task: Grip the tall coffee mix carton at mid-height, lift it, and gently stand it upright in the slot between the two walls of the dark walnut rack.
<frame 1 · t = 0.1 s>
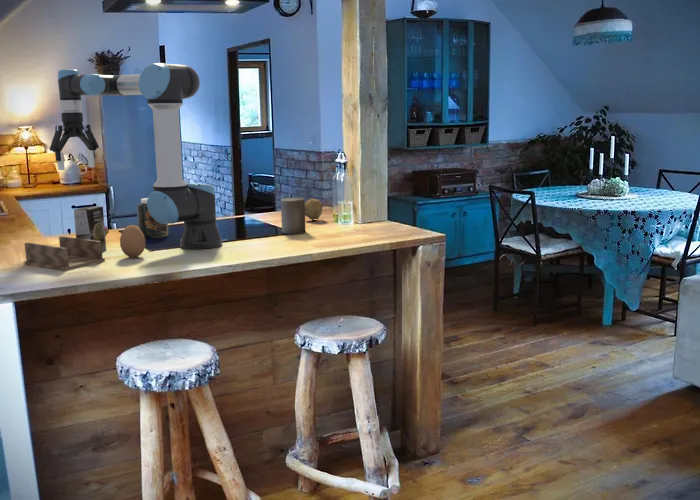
hand: (76, 168, 270), 28 cm above the table, tool pointing down, fingers open, 13 cm apart
walnut rack: (64, 262, 235), on the table
jar: (153, 236, 284), on the table
coffee box: (92, 253, 251), on the table
natural sponge: (313, 221, 317), on the table
pillar candle: (293, 232, 287), on the table
egg: (133, 258, 242), on the table
cupcake: (97, 243, 270), on the table
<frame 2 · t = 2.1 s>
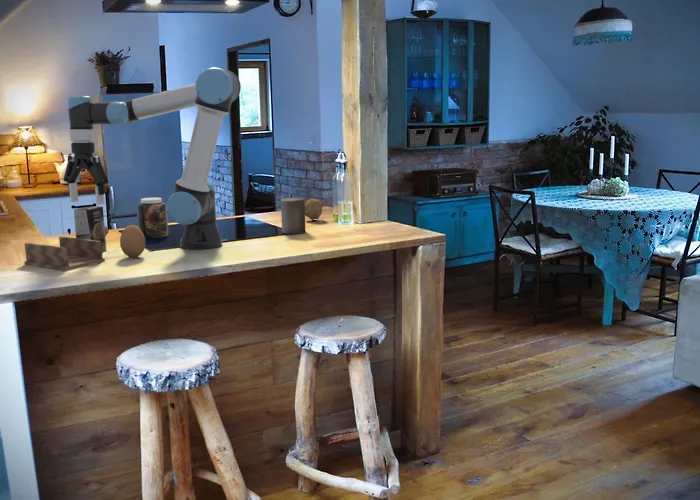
hand: (87, 203, 248), 18 cm above the table, tool pointing down, fingers open, 13 cm apart
nothing on the table moved.
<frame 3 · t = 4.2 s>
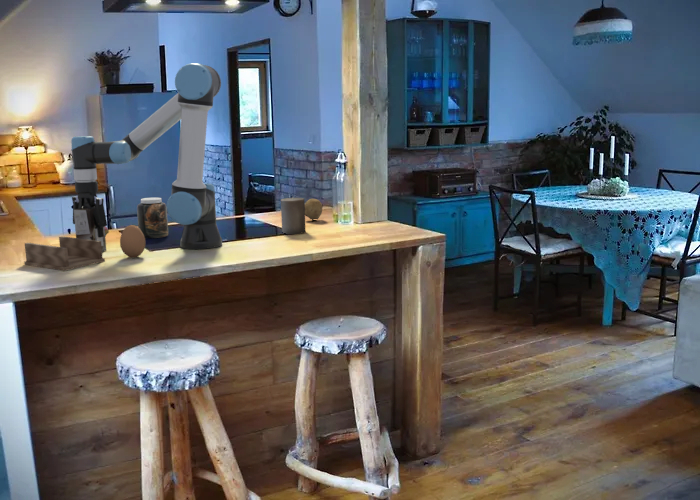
hand: (91, 245, 251), 3 cm above the table, tool pointing down, fingers closed on coffee box, 8 cm apart
coffee box: (92, 253, 251), on the table, touching gripper
everything else where it was.
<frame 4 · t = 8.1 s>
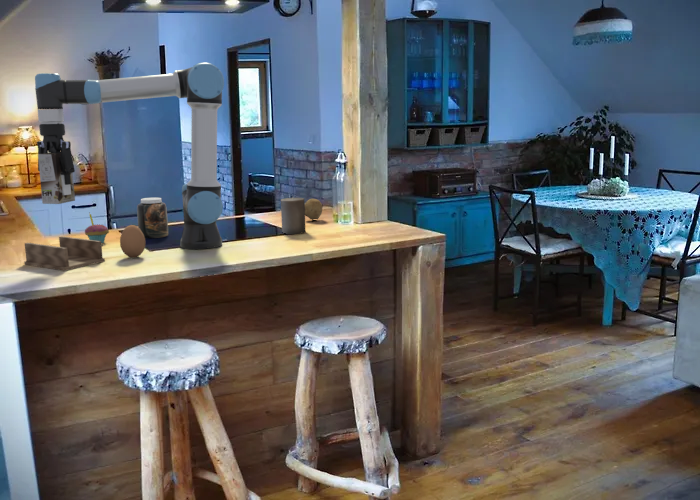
hand: (58, 194, 230), 23 cm above the table, tool pointing down, fingers closed on coffee box, 8 cm apart
coffee box: (59, 203, 231), point 20 cm above the table, touching gripper
everything else where it was.
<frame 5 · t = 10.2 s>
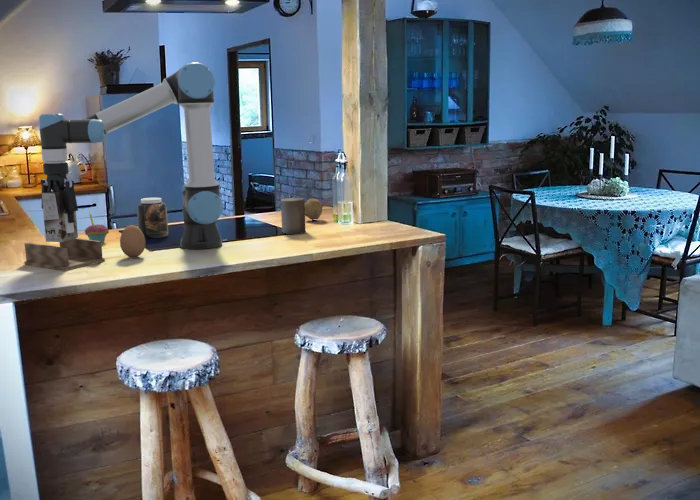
hand: (61, 231, 233), 11 cm above the table, tool pointing down, fingers closed on coffee box, 8 cm apart
coffee box: (62, 240, 233), point 8 cm above the table, touching gripper
everything else where it was.
when the fingers open (5 cm above the table, at t = 12.2 s): coffee box drops 1 cm, resting on walnut rack.
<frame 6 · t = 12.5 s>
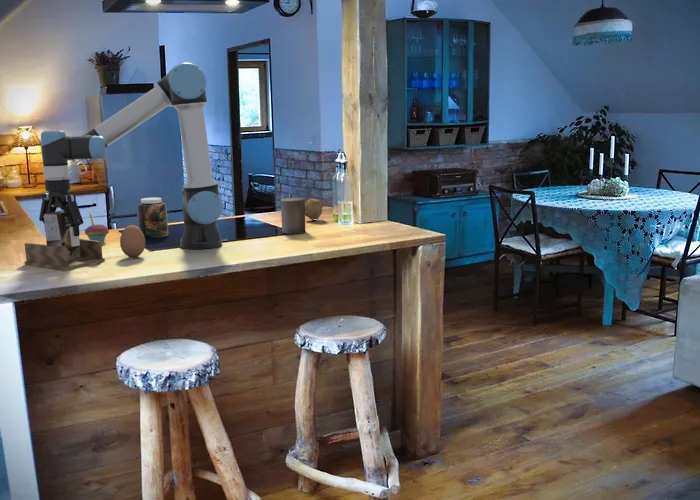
hand: (63, 244, 234), 6 cm above the table, tool pointing down, fingers open, 12 cm apart
coffee box: (64, 260, 235), point 1 cm above the table, touching walnut rack
everything else where it was.
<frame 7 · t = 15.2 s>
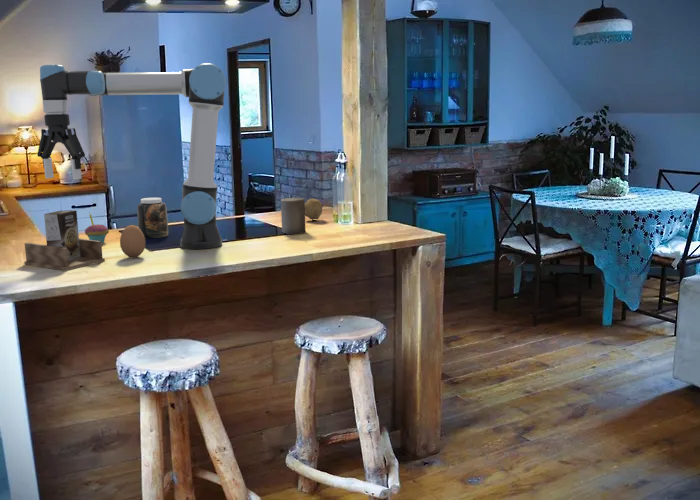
hand: (63, 178, 235), 27 cm above the table, tool pointing down, fingers open, 13 cm apart
nothing on the table moved.
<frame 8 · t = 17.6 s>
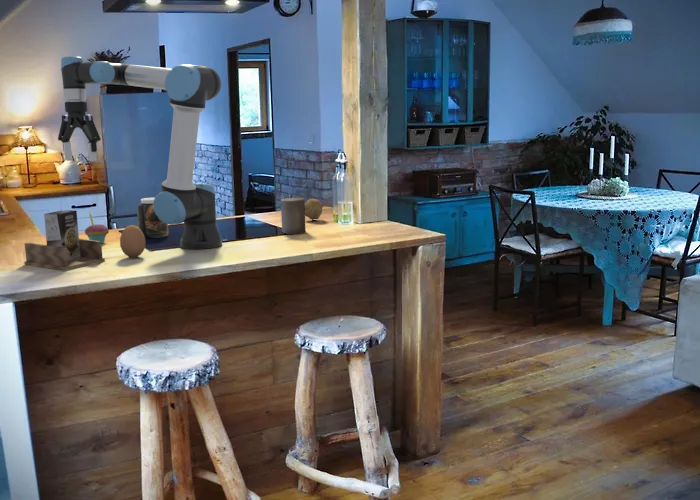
hand: (80, 160, 258), 32 cm above the table, tool pointing down, fingers open, 13 cm apart
nothing on the table moved.
at the end: coffee box 0.1 cm off-centre on the walnut rack, point 0.8 cm above the walnut rack's base; coffee box tilted 0°; the gripper is holding nothing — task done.
